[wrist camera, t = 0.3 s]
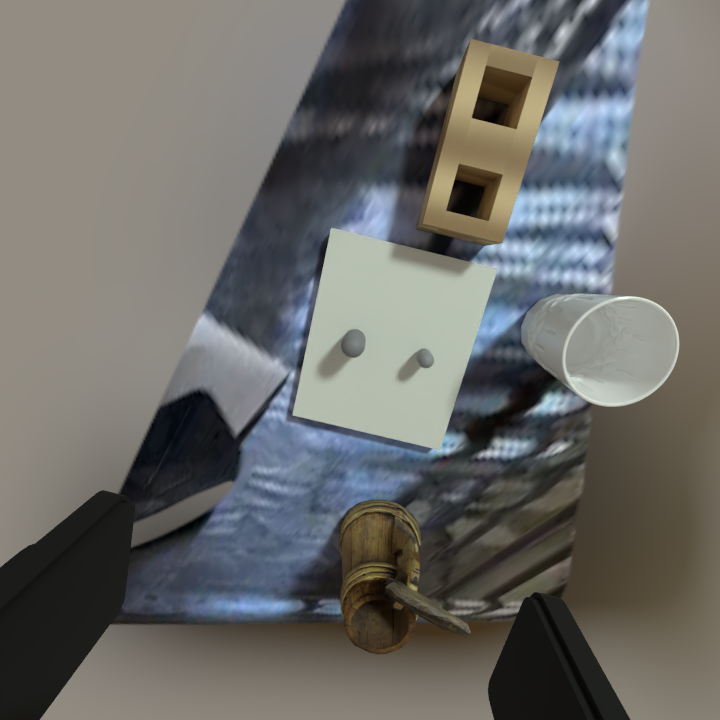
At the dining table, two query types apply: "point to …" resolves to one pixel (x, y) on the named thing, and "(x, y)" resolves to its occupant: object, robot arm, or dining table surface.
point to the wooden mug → (385, 578)
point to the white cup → (602, 345)
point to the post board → (390, 338)
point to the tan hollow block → (487, 140)
